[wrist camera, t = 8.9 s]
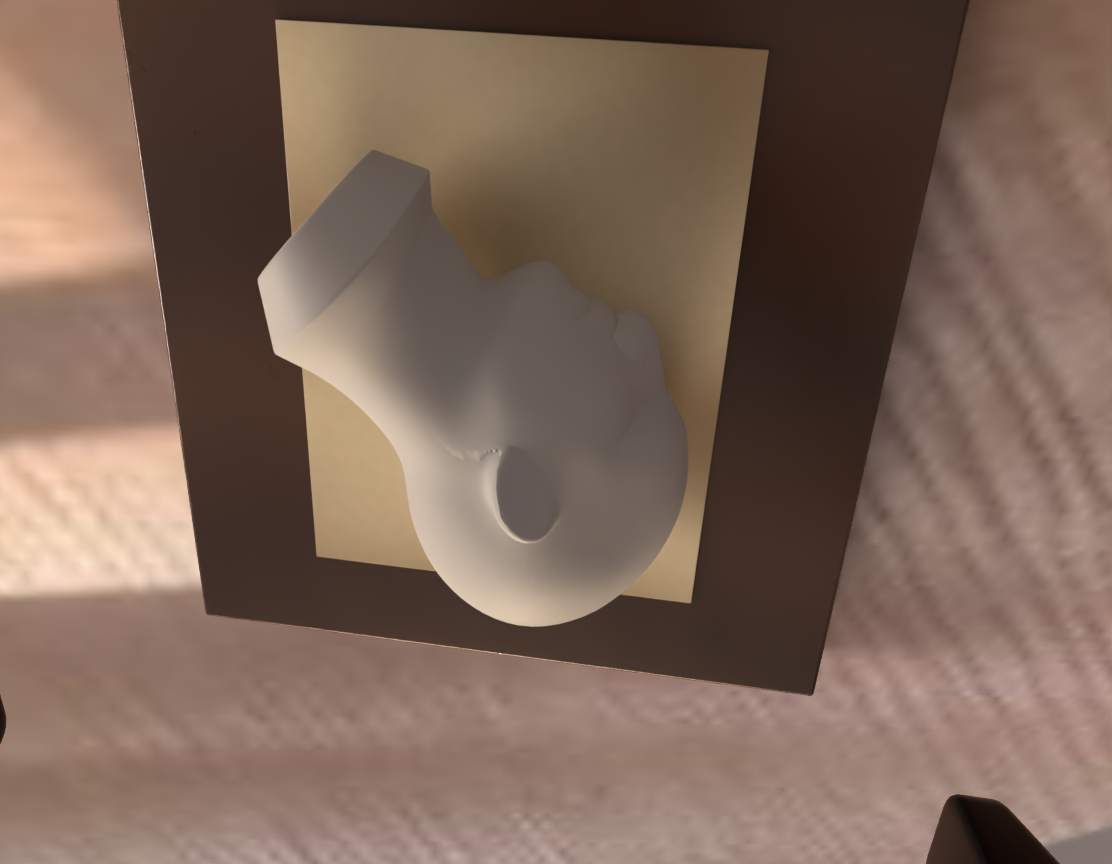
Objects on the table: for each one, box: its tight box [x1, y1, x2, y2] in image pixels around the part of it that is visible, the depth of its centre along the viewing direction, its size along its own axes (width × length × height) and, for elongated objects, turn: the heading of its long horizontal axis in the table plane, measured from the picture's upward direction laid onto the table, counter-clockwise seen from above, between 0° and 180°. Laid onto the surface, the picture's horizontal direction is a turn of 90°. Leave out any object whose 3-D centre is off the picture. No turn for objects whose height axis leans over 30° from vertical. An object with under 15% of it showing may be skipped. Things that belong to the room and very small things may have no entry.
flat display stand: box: [117, 0, 970, 696], centre depth 15 cm, size 16×13×4 cm
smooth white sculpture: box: [258, 150, 688, 627], centre depth 14 cm, size 4×8×5 cm
